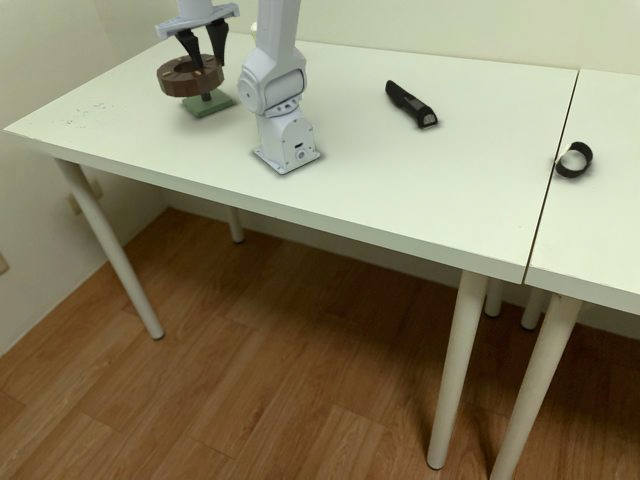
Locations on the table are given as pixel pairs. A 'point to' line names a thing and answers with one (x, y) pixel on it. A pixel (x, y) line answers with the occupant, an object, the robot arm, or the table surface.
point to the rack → (207, 102)
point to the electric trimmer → (411, 105)
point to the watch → (580, 148)
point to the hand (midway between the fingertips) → (211, 68)
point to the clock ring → (190, 76)
